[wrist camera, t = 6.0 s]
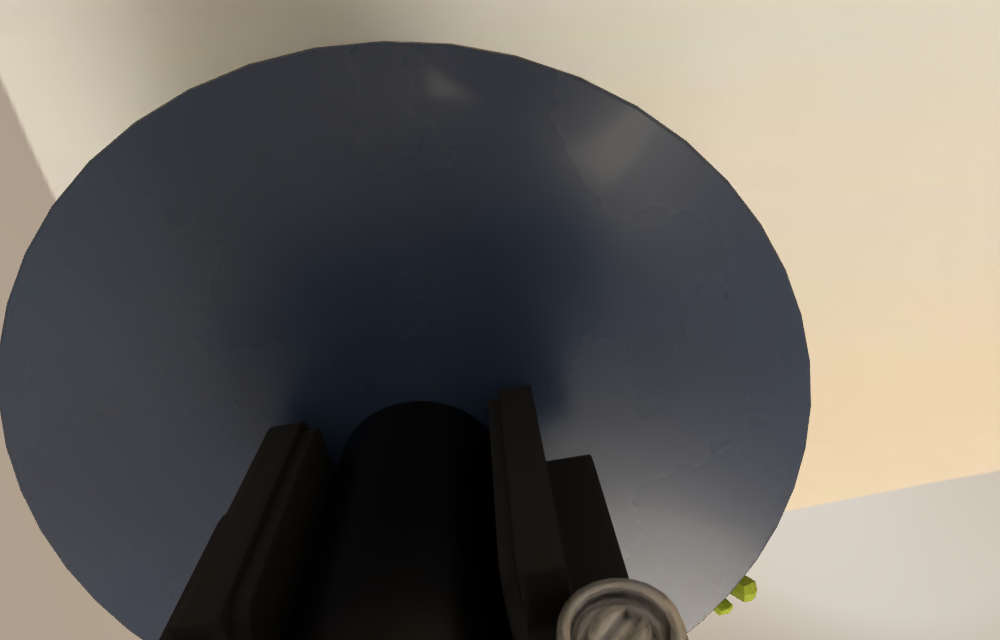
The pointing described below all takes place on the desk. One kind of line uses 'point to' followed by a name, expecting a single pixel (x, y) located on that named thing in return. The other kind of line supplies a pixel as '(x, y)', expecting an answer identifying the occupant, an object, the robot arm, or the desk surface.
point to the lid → (400, 335)
